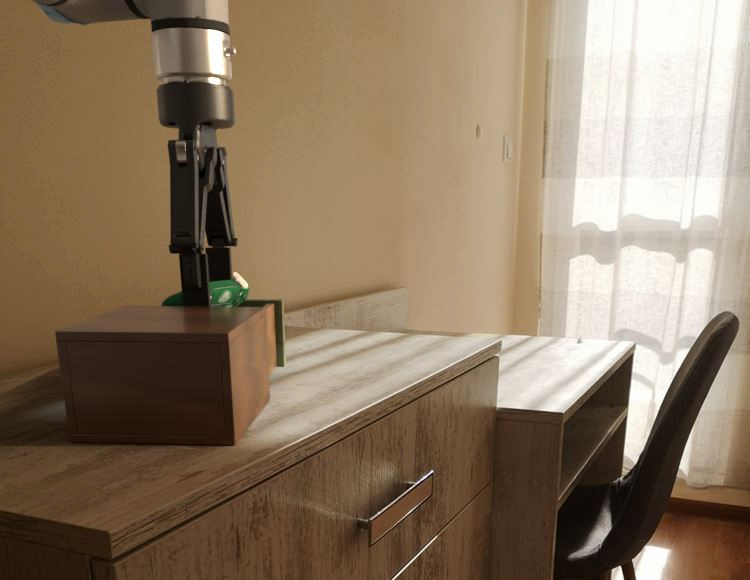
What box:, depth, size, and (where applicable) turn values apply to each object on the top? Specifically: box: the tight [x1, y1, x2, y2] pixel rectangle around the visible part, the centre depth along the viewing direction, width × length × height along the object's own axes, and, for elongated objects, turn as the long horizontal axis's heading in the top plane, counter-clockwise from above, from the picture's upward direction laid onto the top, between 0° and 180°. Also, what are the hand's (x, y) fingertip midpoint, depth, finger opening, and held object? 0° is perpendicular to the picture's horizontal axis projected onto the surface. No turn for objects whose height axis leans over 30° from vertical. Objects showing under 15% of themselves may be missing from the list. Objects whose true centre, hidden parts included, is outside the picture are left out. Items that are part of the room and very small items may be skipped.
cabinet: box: [54, 305, 271, 446], centre depth 77 cm, size 17×15×10 cm
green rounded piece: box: [160, 271, 250, 307], centre depth 88 cm, size 9×4×6 cm
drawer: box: [235, 298, 287, 375], centre depth 93 cm, size 20×13×8 cm
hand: (210, 312), depth 89 cm, fingers closed on green rounded piece, 10 cm apart
